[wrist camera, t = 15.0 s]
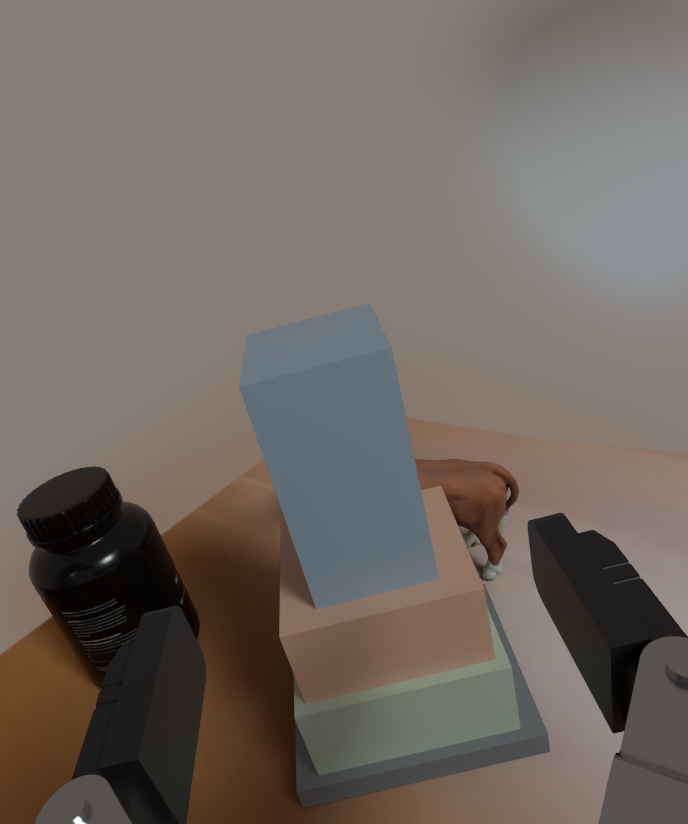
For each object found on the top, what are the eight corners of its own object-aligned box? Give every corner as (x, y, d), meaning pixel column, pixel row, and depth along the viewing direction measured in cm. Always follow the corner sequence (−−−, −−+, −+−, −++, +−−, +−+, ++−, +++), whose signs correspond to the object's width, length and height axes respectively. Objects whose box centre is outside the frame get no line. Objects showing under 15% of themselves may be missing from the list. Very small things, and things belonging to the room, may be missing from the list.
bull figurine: (343, 518, 43) (316, 422, 40) (531, 545, 37) (520, 433, 33) (314, 559, 40) (282, 459, 36) (515, 597, 33) (500, 480, 30)
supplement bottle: (224, 615, 37) (153, 458, 32) (152, 711, 32) (54, 543, 27) (145, 597, 41) (69, 451, 35) (69, 681, 35) (-34, 526, 30)
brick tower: (303, 808, 26) (239, 668, 22) (299, 644, 34) (252, 519, 30) (549, 751, 26) (532, 598, 21) (486, 600, 34) (465, 467, 29)
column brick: (316, 609, 23) (239, 386, 19) (310, 530, 28) (246, 334, 23) (439, 579, 23) (391, 347, 19) (413, 504, 28) (369, 303, 23)
